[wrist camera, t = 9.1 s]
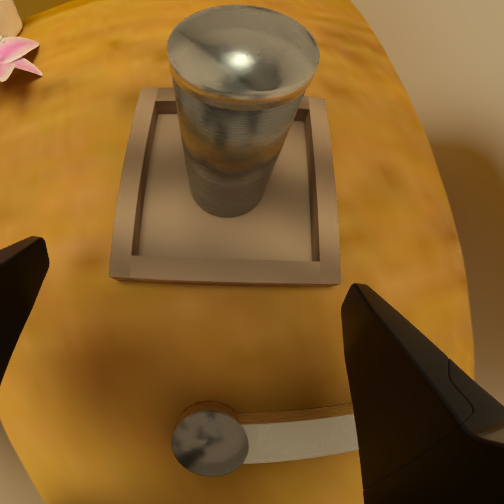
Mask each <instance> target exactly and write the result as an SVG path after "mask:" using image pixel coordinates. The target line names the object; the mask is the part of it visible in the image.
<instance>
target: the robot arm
mask: <svg viewBox="0 0 504 504" xmlns="http://www.w3.org/2000/svg"><path fill="white" fill-rule="evenodd" d="M48 268H49V257H48V253H47V248H46V243H45V240H44V239H43V238H42V237H36V236H31V237H28V238H26V239H24V240H21V241H19V242H17V243H15V244H12V245H10V246H8V247H6V248H3V249H1V250H0V385H1V382H2V379H3V376H4V374H5V371H6V368H7V366H8V363H9V361H10V358H11V356H12V353H13V351H14V348H15V346H16V343H17V341H18V339H19V336H20V334H21V332H22V330H23V328H24V325H25V323H26V321H27V319H28V317H29V315H30V312H31V310H32V308H33V305H34V303H35V300H36V298H37V295H38V293H39V290H40V288H41V285H42V283H43V280H44V278H45V276H46V273H47V271H48ZM341 318H342V329H343V343H344V355H345V363H346V369H347V374H348V380H349V386H350V392H351V398H352V405H353V411H354V418H355V425H356V432H357V440H358V448H359V456H360V464H361V474H362V483H363V489H364V490H363V496H364V504H504V406H503V405H502V404H501V403H499V402H498V401H497V400H496V399H495V398H493V397H492V396H491V395H490V394H489V393H488V392H486V391H485V390H484V389H483V388H482V387H480V386H479V385H478V384H477V383H476V382H475V381H474V380H472V379H471V378H470V377H469V376H468V375H467V374H466V373H465V372H464V371H462V370H461V369H460V368H459V367H458V366H457V365H456V364H455V363H454V362H453V361H452V360H451V359H448V357H447V356H446V355H445V354H444V353H443V352H442V351H441V350H440V349H439V348H438V347H437V346H436V345H434V344H433V343H432V342H431V341H430V340H429V339H428V338H427V337H426V336H425V335H423V334H422V333H421V332H420V331H419V330H418V329H417V328H416V327H415V326H413V325H412V324H411V323H410V322H409V321H408V320H407V319H406V318H404V317H403V316H402V315H401V314H400V313H399V312H398V311H397V310H395V309H394V308H393V307H392V306H391V305H390V304H388V303H387V302H386V301H385V300H384V299H383V298H382V297H380V296H379V295H378V294H377V293H376V292H375V291H373V290H372V289H371V288H370V287H369V286H368V285H366V284H359V283H354V284H352V285H351V287H350V288H349V291H348V293H347V295H346V297H345V300H344V302H343V304H342V308H341Z"/></svg>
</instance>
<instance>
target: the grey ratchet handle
mask: <svg viewBox="0 0 504 504" xmlns="http://www.w3.org/2000/svg"><path fill="white" fill-rule="evenodd" d="M172 450H173V453H174V455H175V457H176V459H177V460H178V461H179V463H180V464H181V465H182V466H184V467H185V468H186V469H188V470H189V471H191V472H193V473H196V474H198V475H202V476H209V477H215V476H222V475H226V474H229V473H231V472H233V471H235V470H236V469H237V468H239V467H240V466H241V465H242V464H253V463H269V462H281V461H291V460H300V459H308V458H315V457H322V456H328V455H334V454H339V453H345V452H350V451H355V450H359V448H358V440H357V432H356V425H355V418H354V411H353V405H352V403H351V404H344V405H337V406H330V407H322V408H313V409H303V410H291V411H278V412H259V413H236V412H235V411H234V410H233V409H232V408H230V407H229V406H227V405H225V404H222V403H219V402H212V401H206V402H200V403H196V404H194V405H192V406H190V407H188V408H187V409H186V410H185V411H184V412H183V413H182V414H181V415H180V417H179V419H178V422H177V425H176V428H175V430H174V433H173V436H172Z"/></svg>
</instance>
